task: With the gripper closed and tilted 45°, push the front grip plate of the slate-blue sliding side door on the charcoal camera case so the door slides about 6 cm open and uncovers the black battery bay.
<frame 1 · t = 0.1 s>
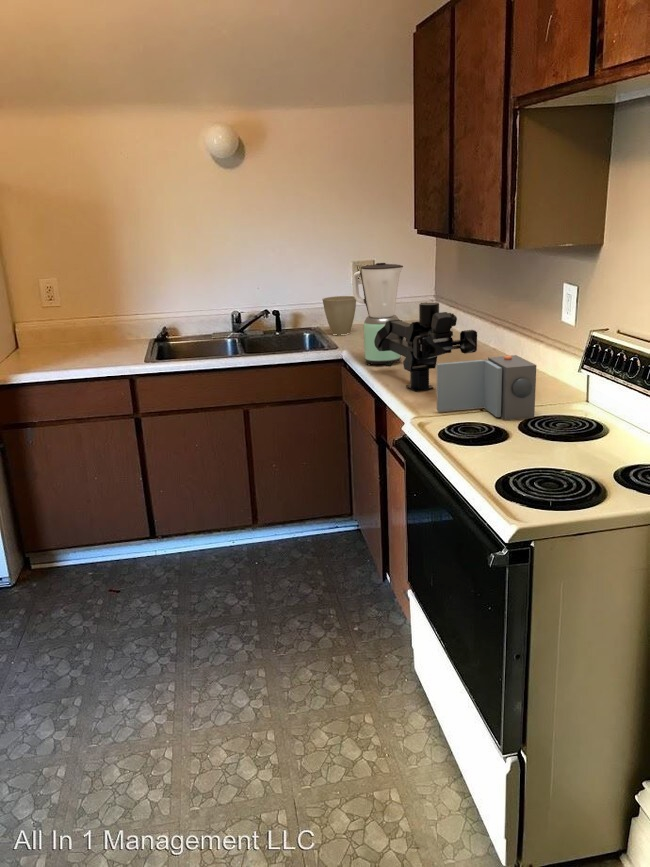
hand: (460, 349, 192), 17 cm above the worktop, tool horizontal, fingers open, 9 cm apart
camera case: (445, 411, 196), on the worktop
mint green blender: (381, 363, 257), on the worktop
side door: (467, 389, 189), point 7 cm above the worktop, slide at 0.0 cm
plant pot: (341, 334, 316), on the worktop
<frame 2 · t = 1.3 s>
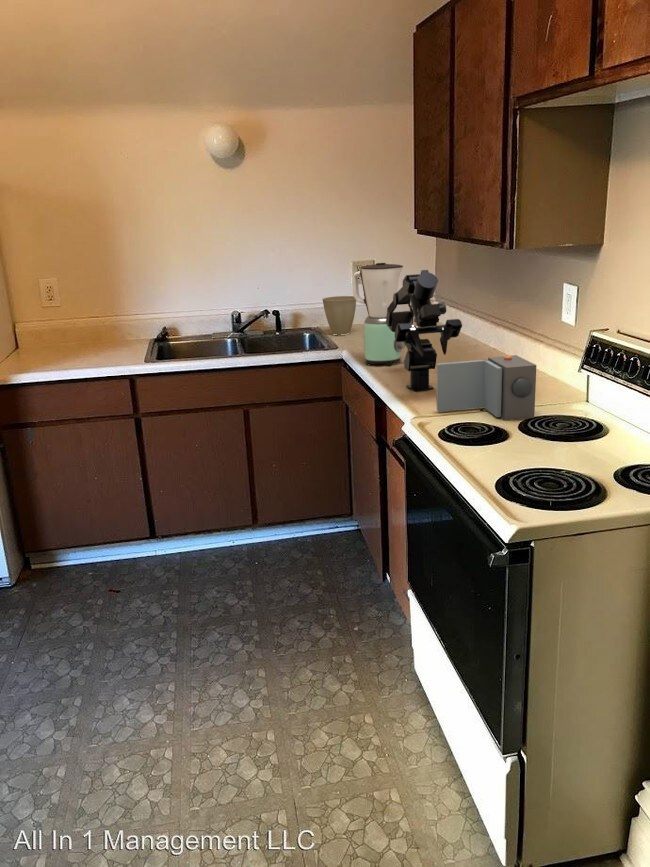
hand: (434, 354, 202), 14 cm above the worktop, tool tilted 45°, fingers open, 6 cm apart
nothing on the worktop moved.
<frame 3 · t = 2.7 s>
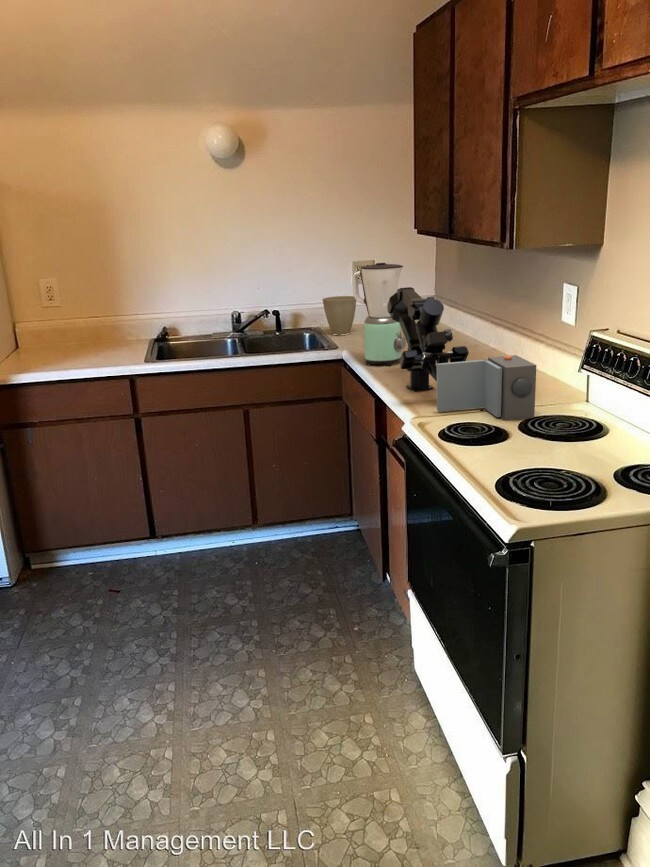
hand: (440, 382, 198), 7 cm above the worktop, tool tilted 45°, fingers closed
nothing on the worktop moved.
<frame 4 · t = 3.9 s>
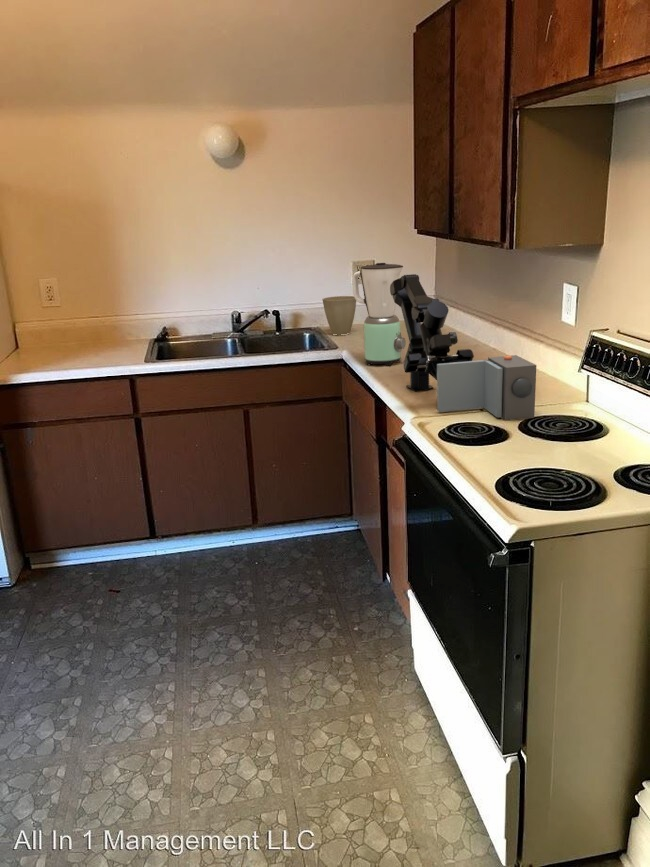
hand: (444, 386, 194), 7 cm above the worktop, tool tilted 45°, fingers closed, pressing on side door
side door: (468, 389, 189), point 7 cm above the worktop, slide at 0.4 cm, touching gripper
everything else where it was.
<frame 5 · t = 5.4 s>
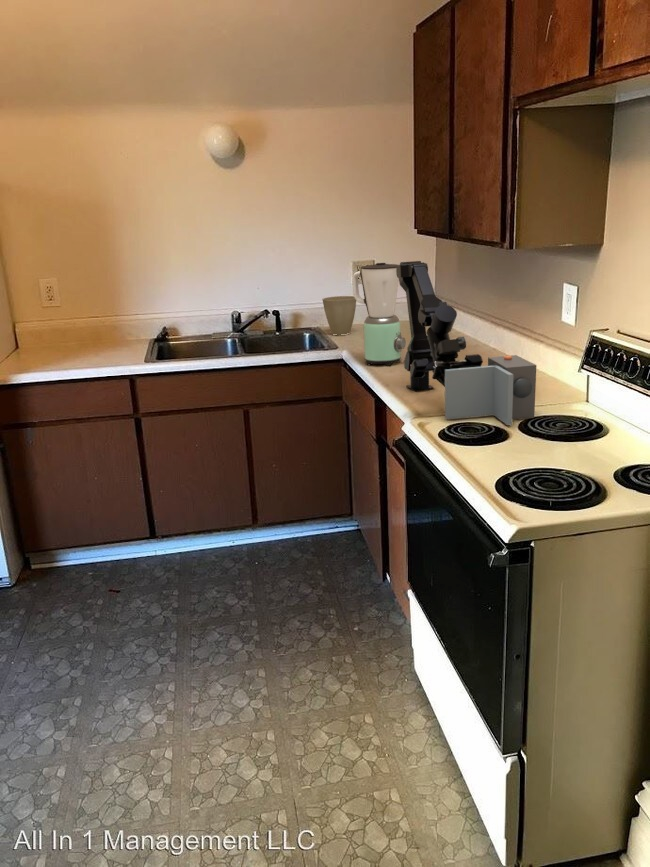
hand: (452, 393, 188), 7 cm above the worktop, tool tilted 45°, fingers closed
side door: (477, 396, 182), point 7 cm above the worktop, slide at 7.3 cm
everything else where it was.
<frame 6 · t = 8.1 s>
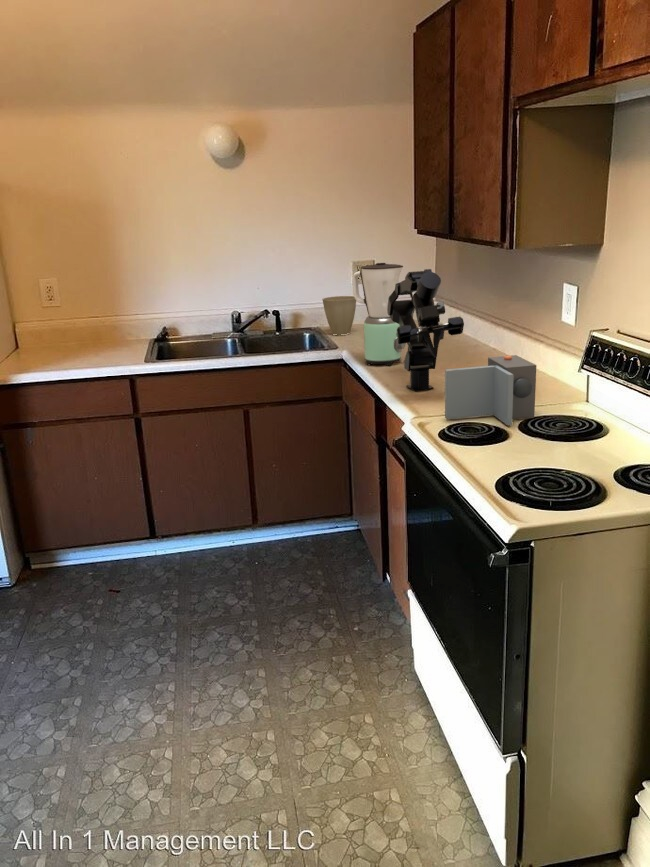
hand: (435, 356, 200), 14 cm above the worktop, tool tilted 40°, fingers closed
nothing on the worktop moved.
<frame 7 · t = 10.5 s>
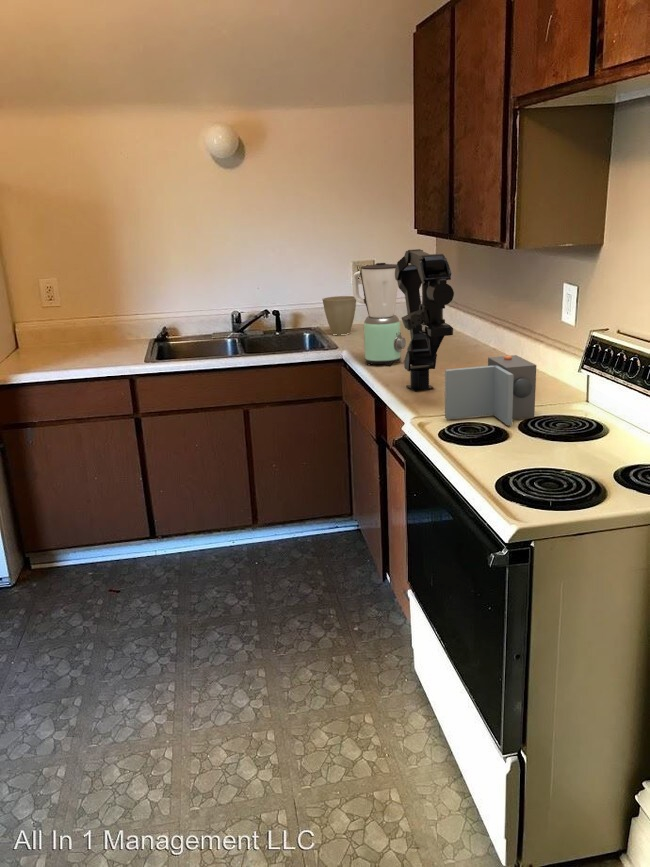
hand: (432, 356, 203), 13 cm above the worktop, tool pointing down, fingers closed
nothing on the worktop moved.
at the end: side door slide at 7.4 cm; the gripper is holding nothing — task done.
